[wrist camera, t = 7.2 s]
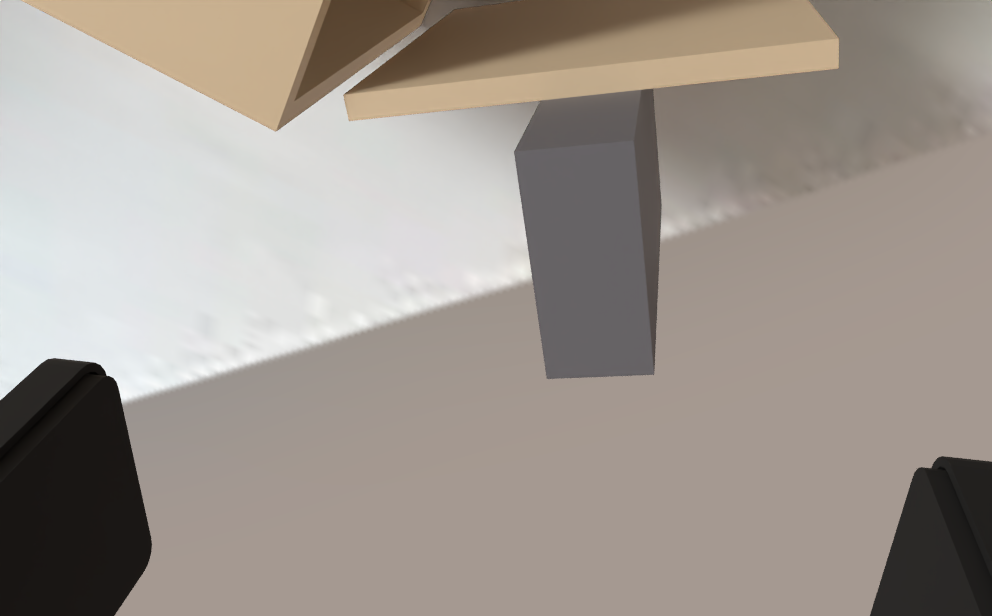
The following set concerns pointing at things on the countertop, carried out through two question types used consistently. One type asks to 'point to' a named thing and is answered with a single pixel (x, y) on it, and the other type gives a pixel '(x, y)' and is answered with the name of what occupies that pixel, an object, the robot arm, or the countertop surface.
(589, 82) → the flap
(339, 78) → the carton
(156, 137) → the countertop surface
